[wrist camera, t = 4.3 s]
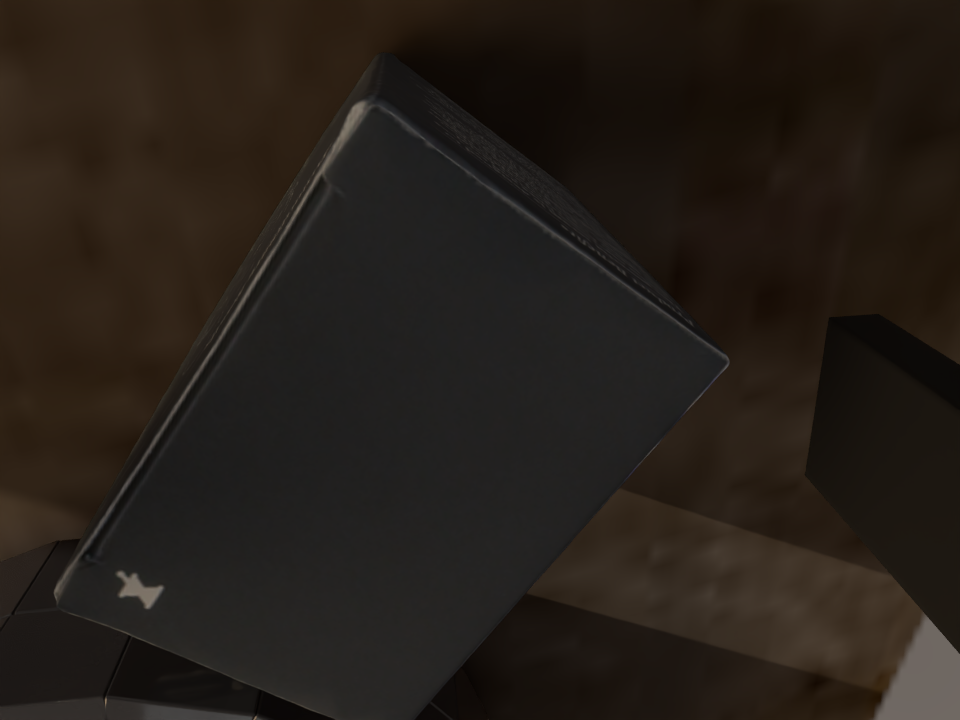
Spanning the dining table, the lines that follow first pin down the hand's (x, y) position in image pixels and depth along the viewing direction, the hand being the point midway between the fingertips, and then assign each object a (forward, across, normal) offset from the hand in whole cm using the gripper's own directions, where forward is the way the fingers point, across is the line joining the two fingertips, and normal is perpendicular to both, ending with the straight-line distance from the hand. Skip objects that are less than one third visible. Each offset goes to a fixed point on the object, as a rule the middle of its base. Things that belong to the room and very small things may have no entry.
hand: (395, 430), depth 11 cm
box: (+9, 0, 0) cm, 9 cm away
